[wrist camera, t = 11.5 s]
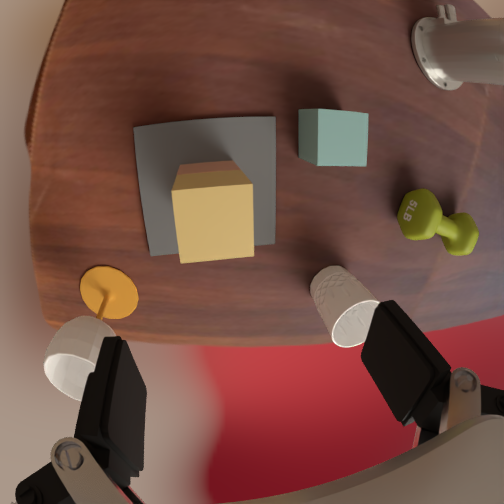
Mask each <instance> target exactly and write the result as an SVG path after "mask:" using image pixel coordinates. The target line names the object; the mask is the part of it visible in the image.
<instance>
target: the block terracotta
mask: <svg viewBox="0 0 504 504" xmlns="http://www.w3.org/2000/svg"><path fill="white" fill-rule="evenodd" d="M230 170H241V169H240V168H239V167H238V166H237V164H236V163H235V162H234V161H233V160H231V161H216V162H204V163H193V164H183V165H180V167H179V169H178V172H177V175H182V174H192V173H204V172H216V171H230Z"/></svg>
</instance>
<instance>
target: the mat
mask: <svg viewBox="0 0 504 504" xmlns="http://www.w3.org/2000/svg"><path fill="white" fill-rule="evenodd" d="M133 128H134V141H135V152H136V161H137V170H138V179H139V187H140V194H141V201H142V208H143V215H144V221H145V227H146V233H147V238H148V244H149V249H150V255H151V256H157V255H167V254H177V253H179V249H178V241H177V234H176V226H175V218H174V210H173V201H172V192H171V191H172V188H173V185H174V182H175V179H176V176H177V172H178V169H179V167H180V165H183V164H193V163H204V162H216V161H231V160H233V161H234V162H235V163H236V164H237V166H238V167H239V168H240V169H241V170H242V172H243V173H244V174H245V175H246V176H247V178H248V179H249V180H250V181H251V182H252V184H253V223H254V246H257V245H268V244H275V222H276V117H231V118H212V119H199V120H187V121H177V122H168V123H160V124H153V125H146V126H139V127H133Z"/></svg>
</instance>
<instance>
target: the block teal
mask: <svg viewBox="0 0 504 504" xmlns="http://www.w3.org/2000/svg"><path fill="white" fill-rule="evenodd" d="M298 110H299V158H301V159H303V160H305V161H308V162H310V163H312V164H314V165H317V166H366V162H367V143H368V114H367V113H359V112H350V111H340V110H329V109H298Z"/></svg>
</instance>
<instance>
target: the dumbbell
mask: <svg viewBox="0 0 504 504" xmlns="http://www.w3.org/2000/svg"><path fill="white" fill-rule="evenodd" d="M397 219H398V222H399V225H400V228H401V230H402V233H403V234H404V236H405V237H406V238H409V239H411V240H423V239H428V238H431V237H433V235H434V234H435V233H437V234H439V235H441V238H442V241H443V243H444V246H445V248H446V250H447V251H448V253H450V254H452V255H467V254H470V253H471V252H472V250H473V248H474V246H475V244H476V242H477V239H478V236H479V231H478V228H477V226H476V224H475V222H474V220H473V218H472V217H471V216H470V215H469V214H467V213H456V214H452V215H450V216H449V217H448V218H447V217H446V216H444V215H442V209H441V206H440V204H439V202H438V200H437V199H436V197H435V195H434V194H433V193H432V192H431V191H429V190H427V189H424V188H423V189H418V190H414V191H411V192H408V193H407V194H406V195H405V196H404V198H403V200H402V203H401V205H400V208H399V211H398V215H397Z"/></svg>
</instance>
